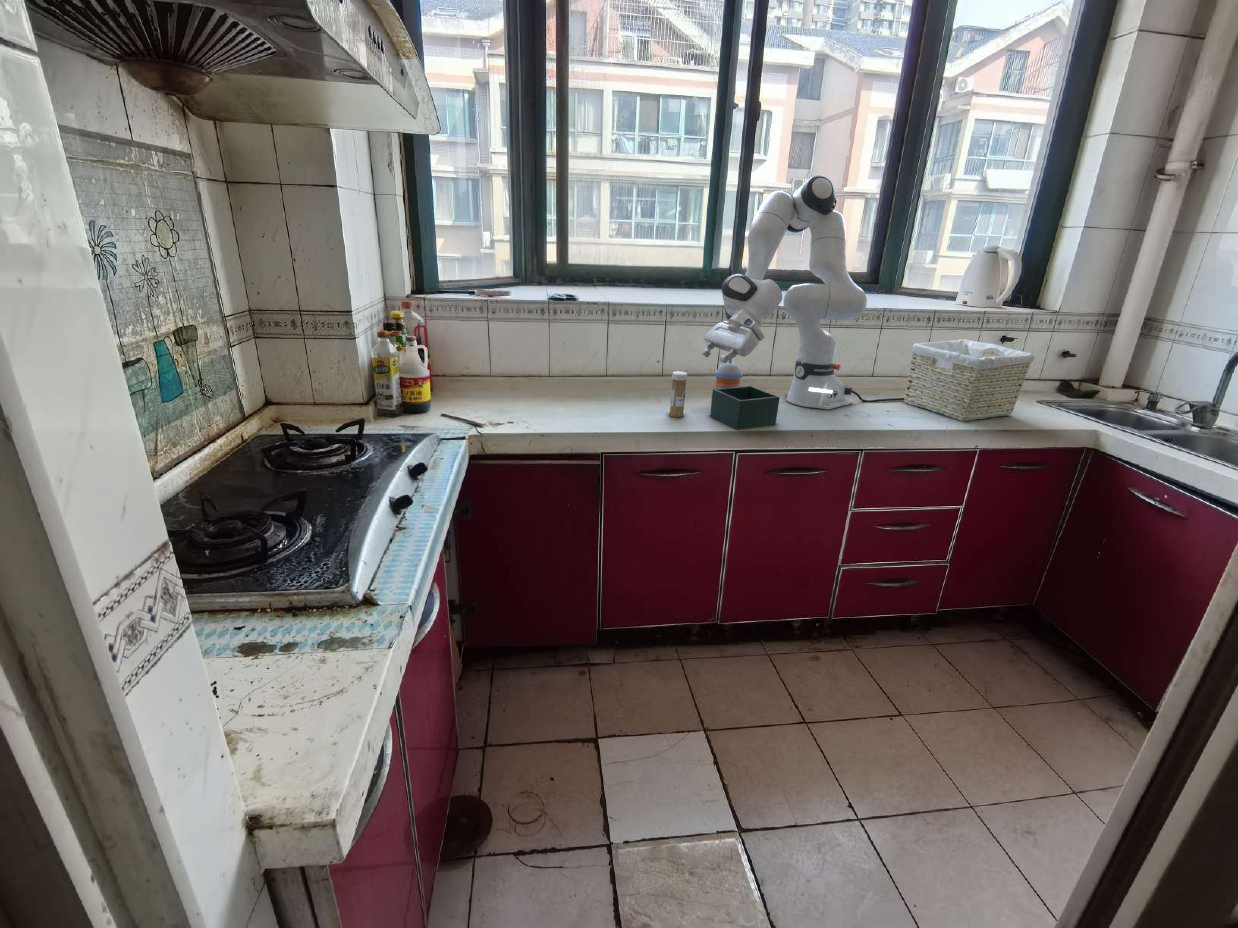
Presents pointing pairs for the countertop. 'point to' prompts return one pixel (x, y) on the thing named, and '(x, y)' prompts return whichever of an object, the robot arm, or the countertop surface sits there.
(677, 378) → the sprinkles bottle
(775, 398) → the bin
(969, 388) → the basket
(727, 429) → the countertop surface
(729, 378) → the cup with straw
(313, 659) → the countertop surface
